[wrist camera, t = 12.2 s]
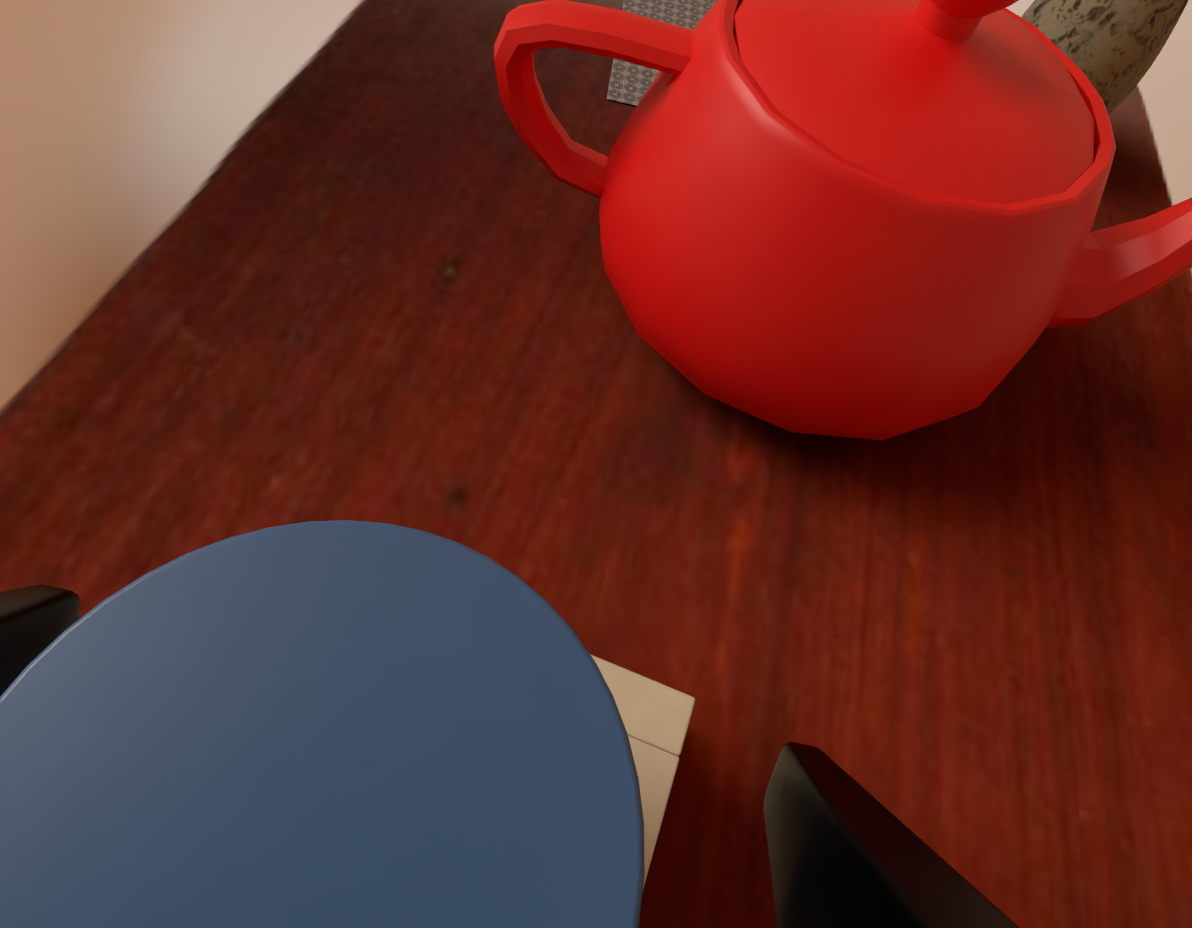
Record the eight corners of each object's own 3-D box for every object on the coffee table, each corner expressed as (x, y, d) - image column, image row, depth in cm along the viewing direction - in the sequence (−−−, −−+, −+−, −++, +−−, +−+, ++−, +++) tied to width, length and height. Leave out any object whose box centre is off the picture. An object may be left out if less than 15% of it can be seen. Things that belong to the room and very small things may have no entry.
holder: (539, 1145, 14) (570, 1285, 10) (146, 972, 14) (5, 1034, 10) (666, 717, 19) (725, 683, 14) (363, 591, 19) (330, 520, 14)
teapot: (423, 382, 22) (380, -24, 12) (537, 101, 30) (574, -298, 19) (1138, 568, 23) (1692, 351, 13) (1072, 251, 31) (1384, -48, 20)
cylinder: (443, 970, 14) (288, 1737, 2) (312, 855, 15) (-373, 967, 3) (547, 810, 16) (783, 751, 4) (427, 712, 17) (308, 397, 5)
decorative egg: (975, 166, 33) (1156, -73, 24) (944, 89, 36) (1097, -150, 27) (1084, 182, 34) (1297, -43, 25) (1046, 105, 37) (1226, -121, 28)
